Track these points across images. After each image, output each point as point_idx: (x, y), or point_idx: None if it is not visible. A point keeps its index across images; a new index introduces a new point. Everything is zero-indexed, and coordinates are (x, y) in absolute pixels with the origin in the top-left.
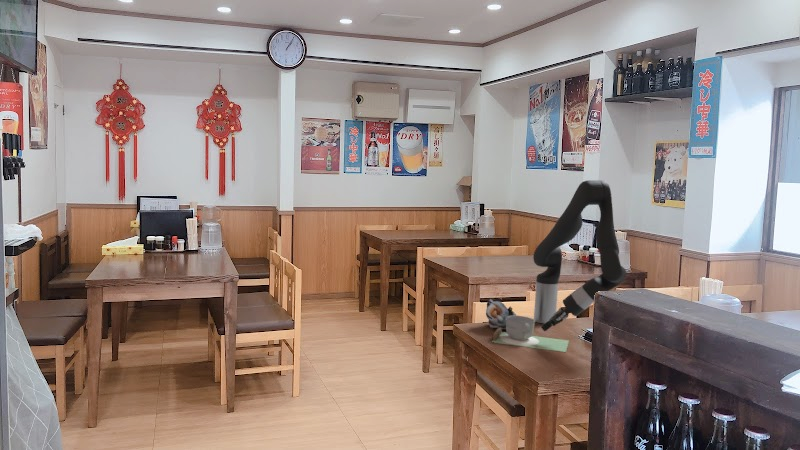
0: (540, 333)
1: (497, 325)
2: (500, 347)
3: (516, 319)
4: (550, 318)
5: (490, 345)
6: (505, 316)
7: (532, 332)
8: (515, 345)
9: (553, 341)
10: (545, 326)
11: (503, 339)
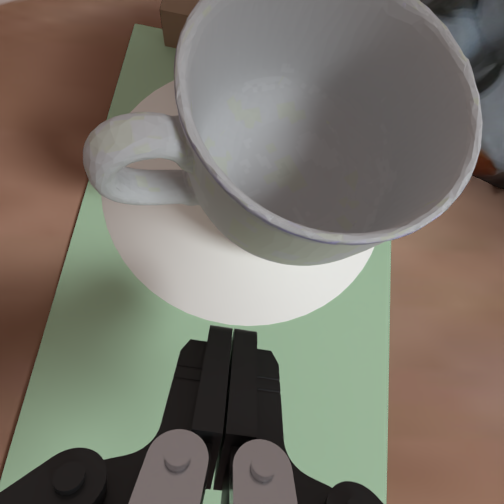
0: (501, 345)
1: None
2: (29, 66)
3: (432, 88)
4: (284, 480)
5: (63, 16)
6: (486, 11)
7: (259, 254)
8: None
9: (295, 453)
10: (173, 377)
11: None
